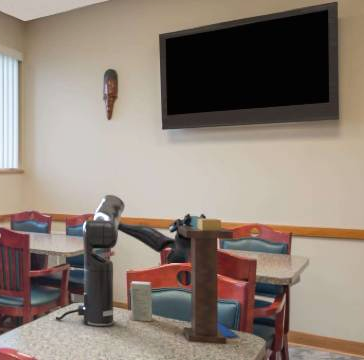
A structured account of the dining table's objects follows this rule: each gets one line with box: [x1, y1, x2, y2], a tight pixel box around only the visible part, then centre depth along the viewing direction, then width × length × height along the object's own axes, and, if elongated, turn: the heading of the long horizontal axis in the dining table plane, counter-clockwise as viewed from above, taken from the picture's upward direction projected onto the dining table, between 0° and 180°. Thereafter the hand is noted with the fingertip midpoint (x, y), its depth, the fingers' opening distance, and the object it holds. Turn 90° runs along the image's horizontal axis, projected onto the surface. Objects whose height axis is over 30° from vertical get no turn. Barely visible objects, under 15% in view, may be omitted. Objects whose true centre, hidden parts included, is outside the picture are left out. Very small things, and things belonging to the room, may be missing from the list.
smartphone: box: [218, 321, 238, 339], centre depth 152 cm, size 7×1×15 cm
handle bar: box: [189, 215, 222, 231], centre depth 150 cm, size 5×22×3 cm, turn 171°
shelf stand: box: [178, 226, 234, 344], centre depth 144 cm, size 12×14×32 cm
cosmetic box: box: [130, 280, 153, 322], centre depth 163 cm, size 6×4×12 cm
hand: (195, 216), depth 155 cm, fingers open, 3 cm apart
